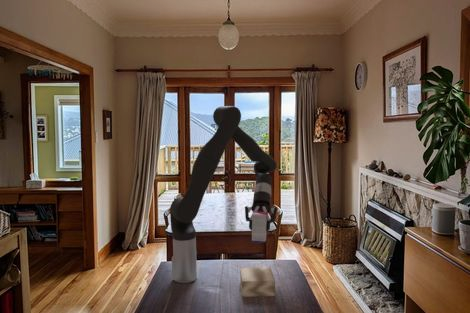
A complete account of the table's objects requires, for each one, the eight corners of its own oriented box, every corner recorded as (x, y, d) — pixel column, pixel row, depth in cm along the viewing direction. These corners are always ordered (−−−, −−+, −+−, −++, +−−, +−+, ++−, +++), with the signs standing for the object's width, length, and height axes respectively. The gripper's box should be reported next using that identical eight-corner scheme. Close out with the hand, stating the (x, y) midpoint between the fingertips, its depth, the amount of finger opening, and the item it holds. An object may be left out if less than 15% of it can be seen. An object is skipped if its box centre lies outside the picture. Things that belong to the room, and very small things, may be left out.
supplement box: (266, 243, 138) (266, 214, 137) (251, 242, 139) (251, 214, 138) (267, 238, 143) (267, 211, 142) (253, 237, 144) (253, 210, 144)
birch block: (242, 297, 125) (241, 281, 124) (240, 282, 137) (240, 268, 136) (275, 296, 125) (275, 280, 125) (270, 281, 137) (270, 267, 137)
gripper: (245, 190, 148) (240, 224, 137) (278, 191, 145) (276, 226, 135) (247, 199, 154) (242, 233, 143) (279, 200, 151) (277, 235, 140)
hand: (259, 230), depth 139 cm, fingers closed on supplement box, 5 cm apart
